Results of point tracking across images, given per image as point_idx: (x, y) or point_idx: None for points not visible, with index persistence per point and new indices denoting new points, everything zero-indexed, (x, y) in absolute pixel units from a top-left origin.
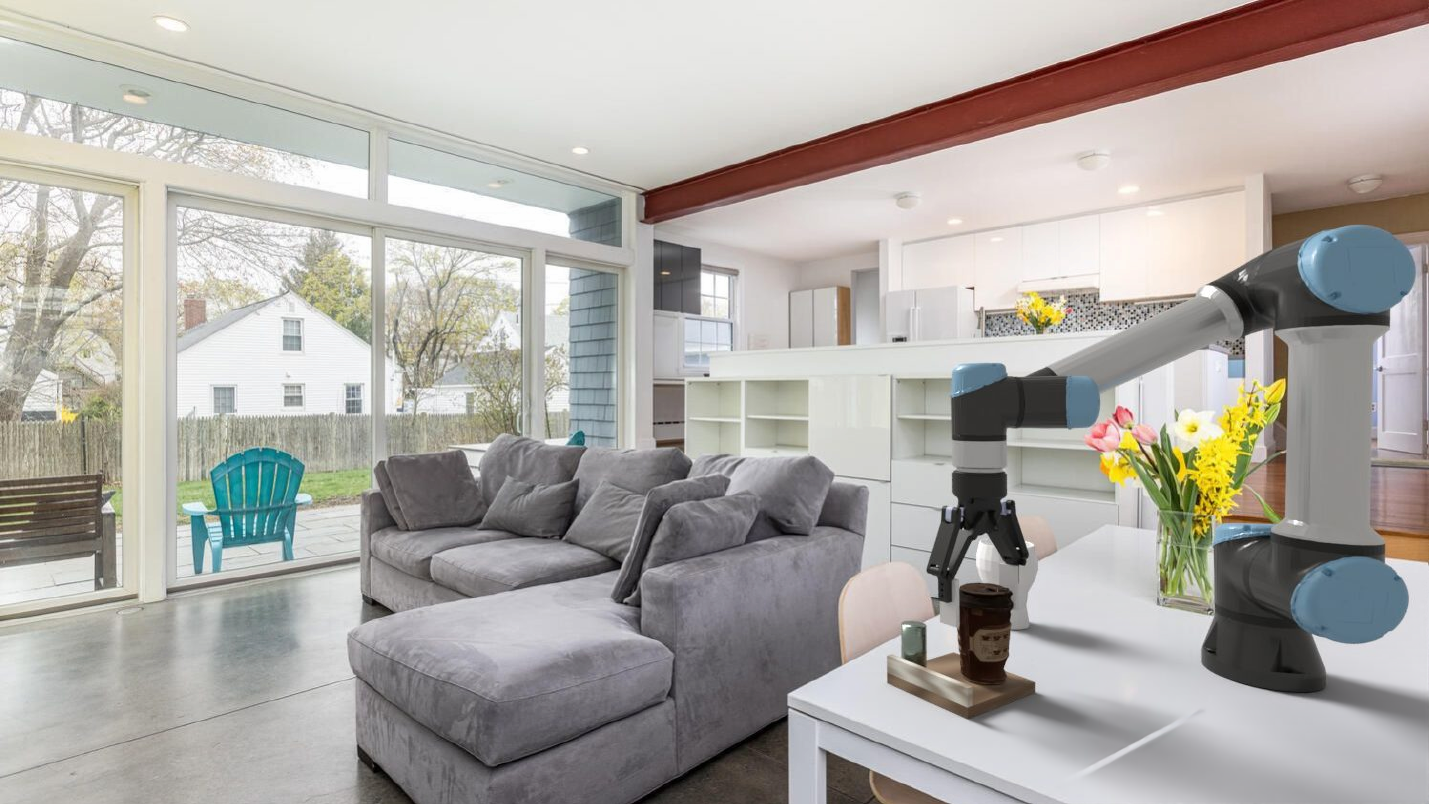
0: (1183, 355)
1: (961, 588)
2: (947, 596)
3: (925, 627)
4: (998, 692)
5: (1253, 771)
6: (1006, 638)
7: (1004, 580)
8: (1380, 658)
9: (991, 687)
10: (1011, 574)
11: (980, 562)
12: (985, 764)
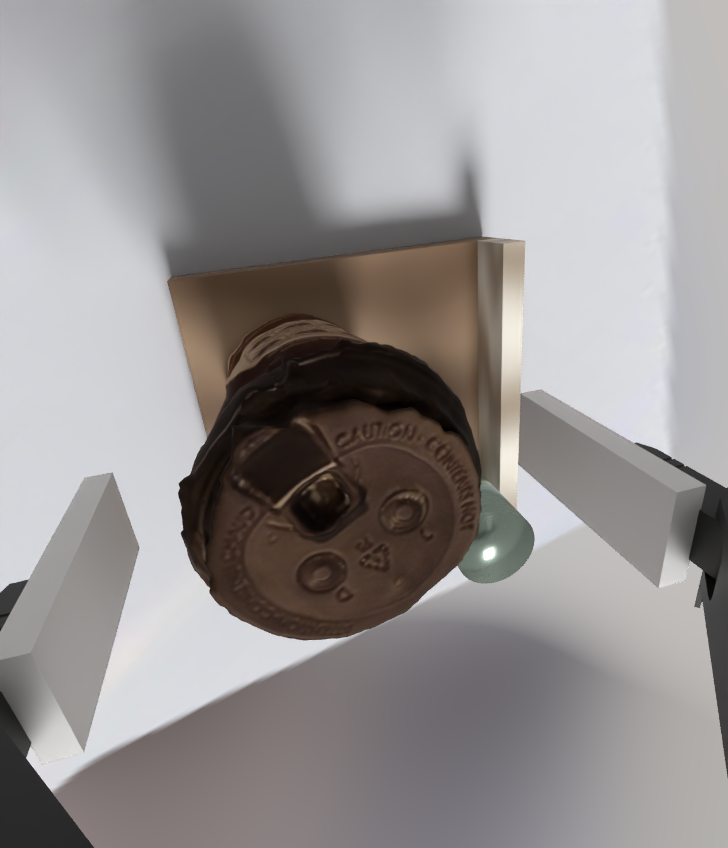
0: None
1: (440, 574)
2: (658, 457)
3: (484, 519)
4: (343, 274)
5: None
6: (301, 330)
7: (99, 623)
8: None
9: (333, 311)
10: (67, 622)
11: None
12: (641, 22)
